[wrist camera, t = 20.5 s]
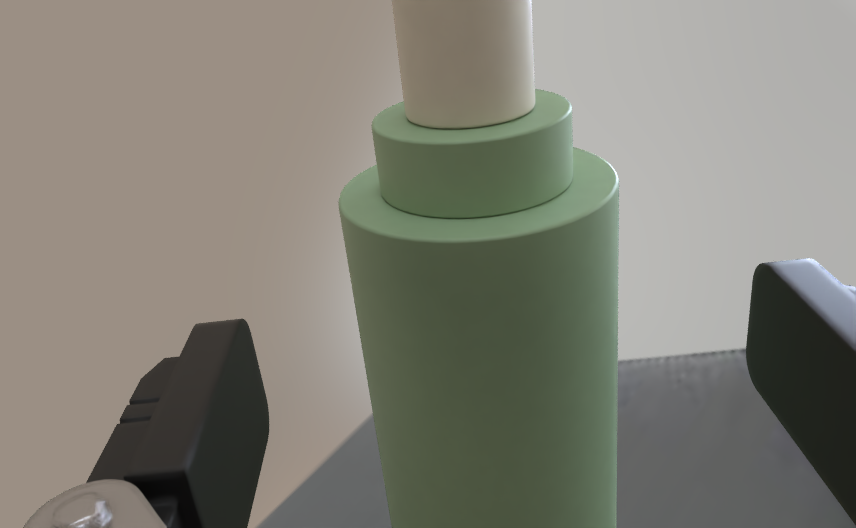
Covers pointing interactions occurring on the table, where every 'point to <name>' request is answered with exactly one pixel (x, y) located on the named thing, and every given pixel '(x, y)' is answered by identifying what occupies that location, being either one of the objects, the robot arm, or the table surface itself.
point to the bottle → (486, 283)
